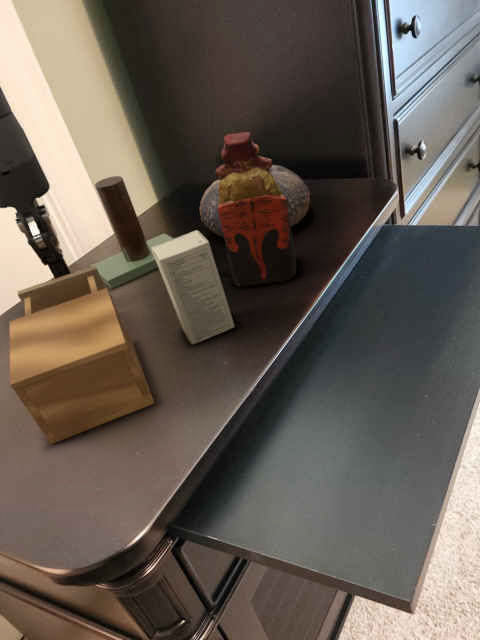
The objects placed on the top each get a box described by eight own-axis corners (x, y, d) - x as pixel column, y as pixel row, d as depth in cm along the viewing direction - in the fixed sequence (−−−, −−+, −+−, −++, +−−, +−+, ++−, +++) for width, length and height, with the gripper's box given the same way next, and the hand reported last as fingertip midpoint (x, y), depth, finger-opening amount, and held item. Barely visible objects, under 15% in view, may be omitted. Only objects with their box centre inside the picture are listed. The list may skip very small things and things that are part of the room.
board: (111, 289, 82) (107, 280, 81) (93, 274, 87) (89, 265, 86) (188, 253, 87) (185, 245, 86) (167, 241, 92) (164, 233, 91)
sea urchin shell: (237, 196, 101) (233, 141, 94) (326, 217, 95) (329, 160, 88) (182, 239, 89) (172, 180, 82) (280, 266, 84) (279, 205, 76)
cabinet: (44, 377, 66) (9, 321, 61) (133, 344, 69) (107, 287, 63) (51, 444, 56) (9, 384, 51) (154, 403, 59) (125, 342, 53)
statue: (302, 256, 80) (277, 112, 66) (298, 283, 74) (270, 131, 60) (225, 265, 81) (186, 126, 68) (216, 291, 76) (171, 146, 62)
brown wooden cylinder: (121, 262, 85) (89, 188, 77) (131, 250, 88) (102, 177, 80) (144, 260, 84) (115, 185, 76) (154, 248, 87) (126, 174, 79)
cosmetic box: (224, 313, 71) (199, 228, 63) (236, 328, 68) (210, 240, 60) (181, 330, 69) (149, 245, 61) (190, 346, 66) (158, 259, 58)
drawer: (41, 319, 76) (16, 278, 71) (110, 295, 78) (91, 253, 74) (47, 381, 64) (18, 336, 59) (129, 350, 66) (108, 305, 62)
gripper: (-27, 156, 68) (38, 274, 80) (-32, 182, 59) (43, 312, 70) (31, 140, 70) (87, 258, 81) (35, 162, 60) (98, 293, 72)
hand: (66, 283), depth 76 cm, fingers closed
